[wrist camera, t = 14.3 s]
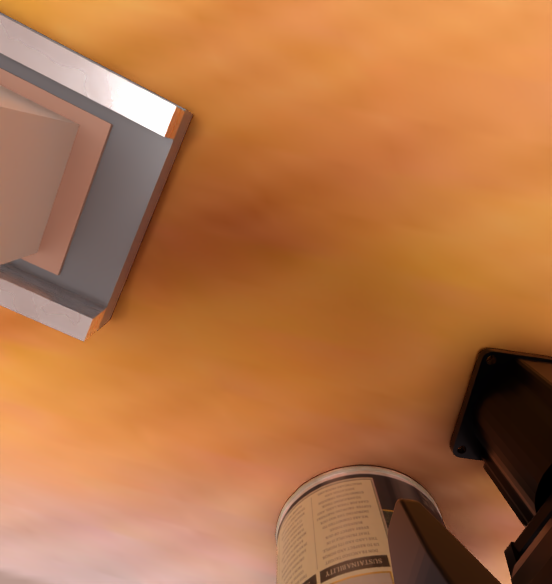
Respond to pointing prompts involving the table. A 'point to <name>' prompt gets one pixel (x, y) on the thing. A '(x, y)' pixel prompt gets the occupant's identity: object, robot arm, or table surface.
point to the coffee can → (343, 526)
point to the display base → (88, 181)
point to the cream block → (29, 171)
